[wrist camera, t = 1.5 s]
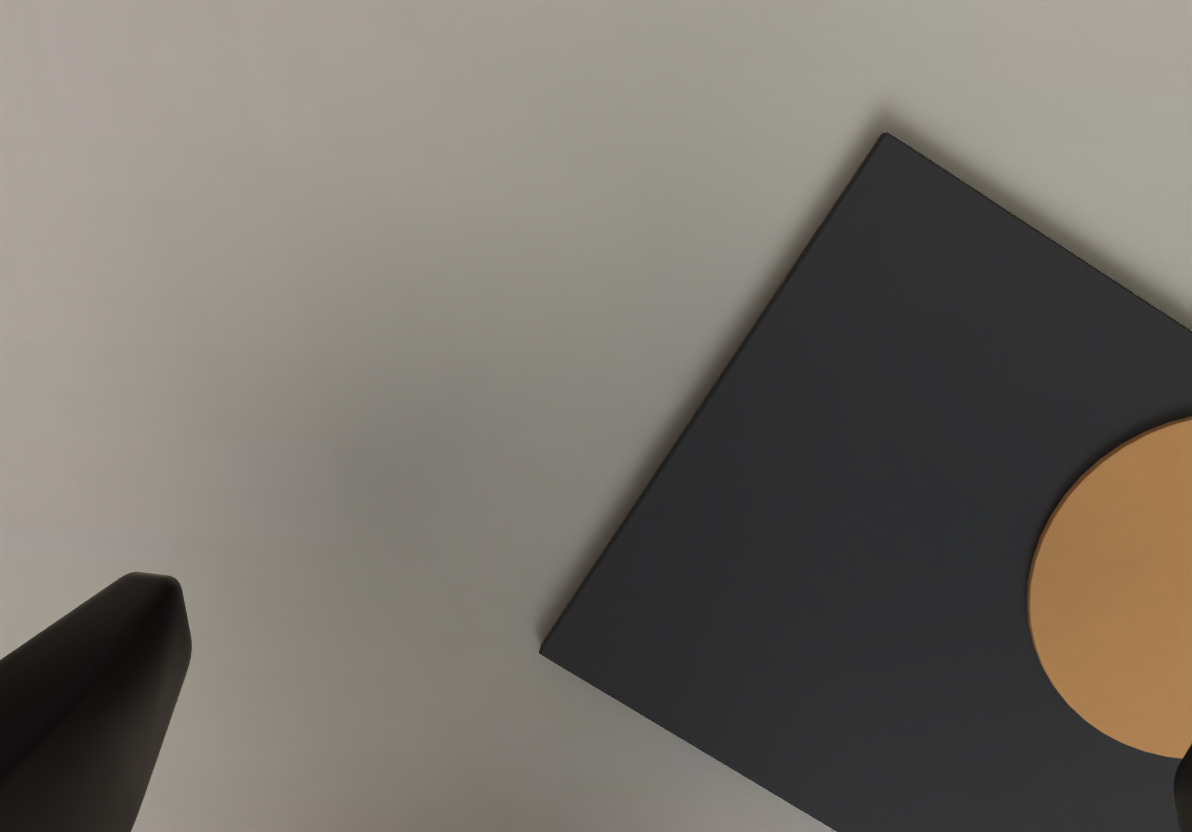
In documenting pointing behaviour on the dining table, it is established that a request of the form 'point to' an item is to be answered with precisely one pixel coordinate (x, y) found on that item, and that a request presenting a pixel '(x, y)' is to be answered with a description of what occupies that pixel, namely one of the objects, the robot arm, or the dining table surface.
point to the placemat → (922, 534)
